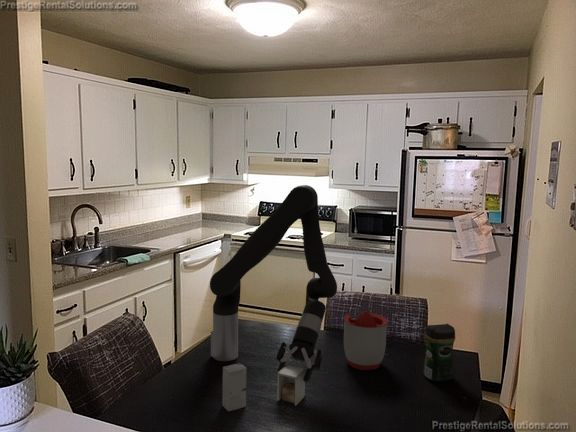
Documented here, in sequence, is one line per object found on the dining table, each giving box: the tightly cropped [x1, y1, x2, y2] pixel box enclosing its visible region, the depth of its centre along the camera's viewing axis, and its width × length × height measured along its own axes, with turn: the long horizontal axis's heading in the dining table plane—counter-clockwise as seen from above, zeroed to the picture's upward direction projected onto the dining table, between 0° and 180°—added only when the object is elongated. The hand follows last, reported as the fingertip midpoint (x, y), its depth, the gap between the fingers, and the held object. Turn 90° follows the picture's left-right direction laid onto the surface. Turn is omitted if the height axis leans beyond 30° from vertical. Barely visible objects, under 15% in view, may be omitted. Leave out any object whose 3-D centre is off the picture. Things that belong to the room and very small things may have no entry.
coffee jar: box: [423, 323, 456, 382], centre depth 161 cm, size 10×8×19 cm
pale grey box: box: [276, 364, 306, 407], centre depth 145 cm, size 6×6×9 cm
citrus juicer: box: [343, 310, 389, 371], centre depth 170 cm, size 16×17×20 cm
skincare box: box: [222, 362, 247, 412], centre depth 140 cm, size 6×4×12 cm
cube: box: [281, 382, 295, 404], centre depth 145 cm, size 4×4×4 cm
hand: (292, 378), depth 145 cm, fingers open, 8 cm apart
